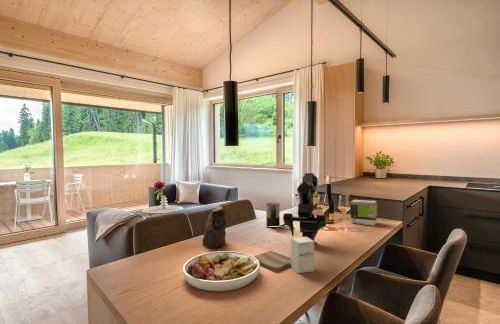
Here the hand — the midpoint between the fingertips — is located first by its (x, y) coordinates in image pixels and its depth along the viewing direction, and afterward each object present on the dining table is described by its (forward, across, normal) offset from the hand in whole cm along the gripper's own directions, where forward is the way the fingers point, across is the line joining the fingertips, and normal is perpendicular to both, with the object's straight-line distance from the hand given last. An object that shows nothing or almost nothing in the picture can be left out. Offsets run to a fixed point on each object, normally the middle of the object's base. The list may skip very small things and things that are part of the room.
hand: (303, 236), depth 124 cm
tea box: (-47, +33, +64) cm, 86 cm away
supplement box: (+12, 0, +5) cm, 13 cm away
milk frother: (-32, -20, +48) cm, 61 cm away
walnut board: (+9, -13, +8) cm, 18 cm away
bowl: (+22, -30, -5) cm, 38 cm away
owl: (-2, -48, +19) cm, 51 cm away
